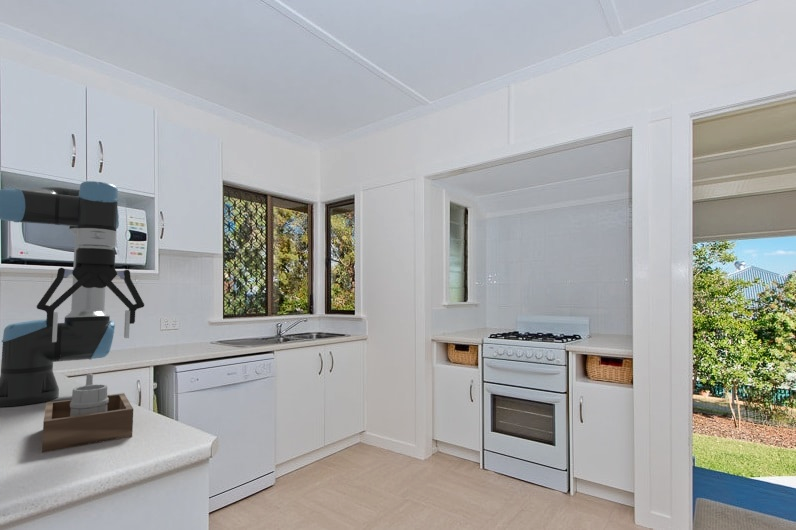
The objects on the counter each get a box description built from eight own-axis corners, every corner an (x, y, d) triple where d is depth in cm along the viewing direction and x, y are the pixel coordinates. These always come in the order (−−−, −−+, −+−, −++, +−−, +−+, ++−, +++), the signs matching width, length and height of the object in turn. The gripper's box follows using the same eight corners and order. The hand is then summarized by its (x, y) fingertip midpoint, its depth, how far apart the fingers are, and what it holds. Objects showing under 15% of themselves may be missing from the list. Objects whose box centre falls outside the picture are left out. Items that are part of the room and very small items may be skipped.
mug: (66, 440, 90) (69, 382, 91) (66, 426, 99) (69, 374, 100) (110, 433, 95) (112, 378, 95) (106, 420, 104) (108, 370, 105)
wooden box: (44, 428, 99) (46, 402, 100) (123, 417, 109) (124, 393, 109) (41, 452, 85) (43, 421, 85) (132, 436, 94) (133, 408, 95)
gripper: (24, 243, 89) (18, 345, 88) (159, 250, 105) (155, 337, 104) (27, 245, 95) (21, 341, 94) (154, 252, 111) (150, 334, 110)
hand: (91, 339), depth 99 cm, fingers open, 13 cm apart
